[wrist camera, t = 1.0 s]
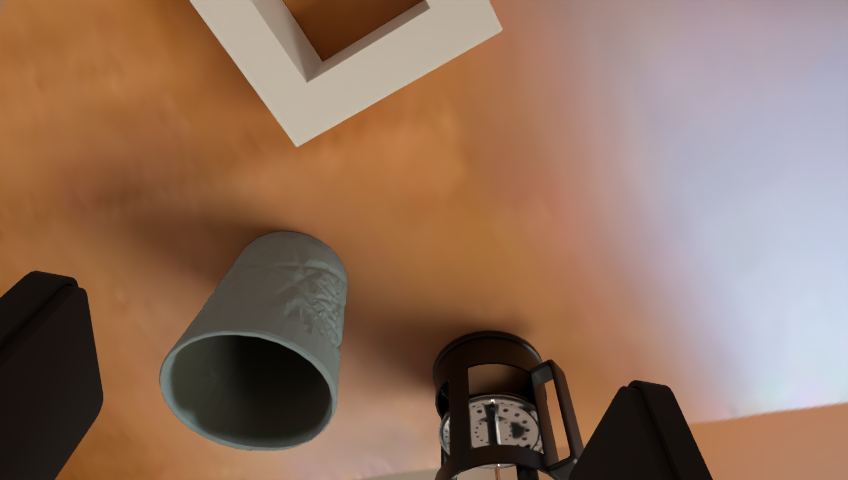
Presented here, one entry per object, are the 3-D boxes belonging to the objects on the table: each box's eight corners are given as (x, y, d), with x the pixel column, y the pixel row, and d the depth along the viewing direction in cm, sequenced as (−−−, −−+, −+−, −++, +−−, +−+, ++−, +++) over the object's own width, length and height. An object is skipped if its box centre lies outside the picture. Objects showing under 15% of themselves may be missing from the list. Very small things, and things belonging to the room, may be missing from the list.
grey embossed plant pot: (202, 271, 42) (125, 391, 31) (286, 193, 38) (229, 300, 28) (303, 345, 45) (263, 473, 35) (388, 280, 41) (371, 404, 31)
